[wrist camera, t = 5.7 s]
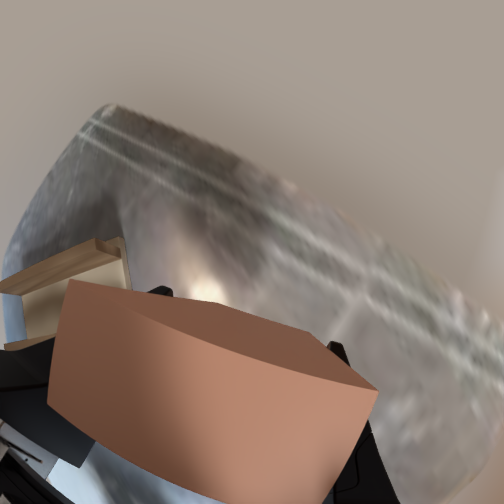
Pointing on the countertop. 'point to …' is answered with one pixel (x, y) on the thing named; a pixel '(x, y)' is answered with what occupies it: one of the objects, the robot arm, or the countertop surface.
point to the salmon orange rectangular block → (207, 394)
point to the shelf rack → (64, 283)
